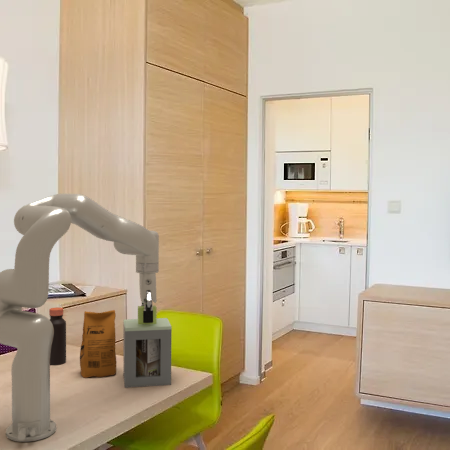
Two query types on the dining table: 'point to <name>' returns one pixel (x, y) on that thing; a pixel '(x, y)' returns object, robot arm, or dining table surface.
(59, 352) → the bottle
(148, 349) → the coffee box
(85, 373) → the coffee package
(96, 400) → the dining table surface
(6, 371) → the dining table surface
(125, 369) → the crate
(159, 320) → the lid
